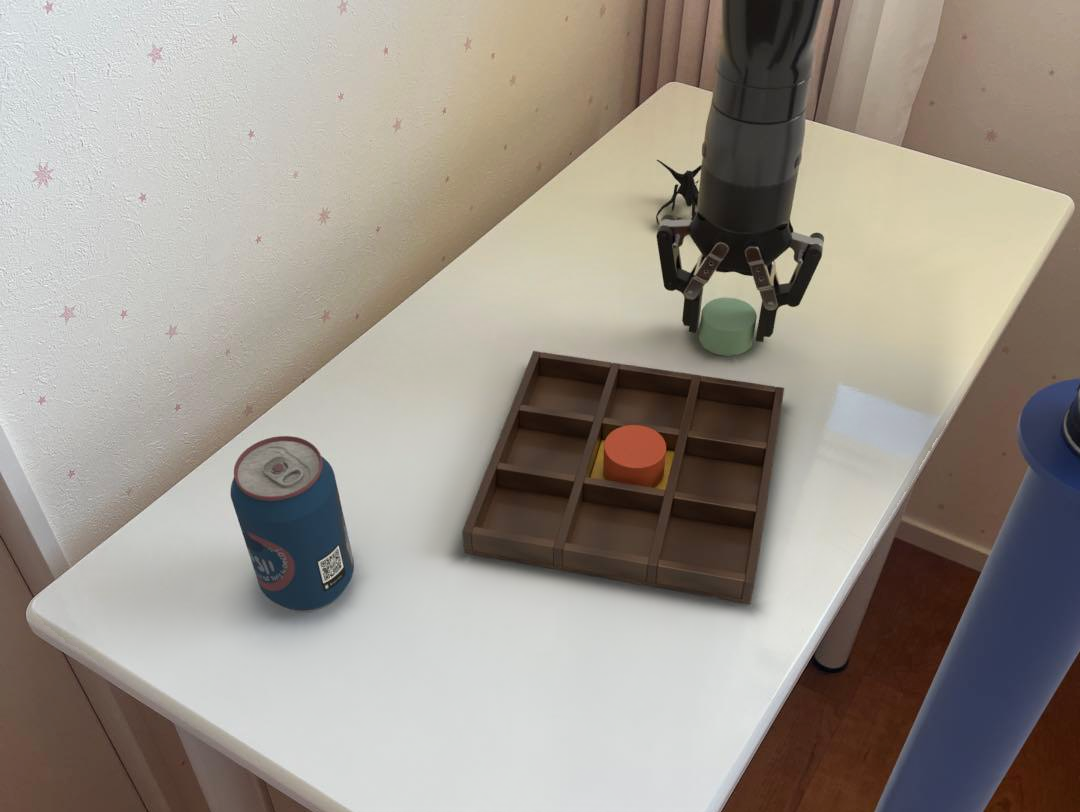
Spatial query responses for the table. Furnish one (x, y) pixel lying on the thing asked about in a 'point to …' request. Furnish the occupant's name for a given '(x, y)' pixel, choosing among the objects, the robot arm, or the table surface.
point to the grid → (625, 509)
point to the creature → (683, 189)
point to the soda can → (292, 522)
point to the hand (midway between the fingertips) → (726, 331)
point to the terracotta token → (634, 456)
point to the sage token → (727, 326)
